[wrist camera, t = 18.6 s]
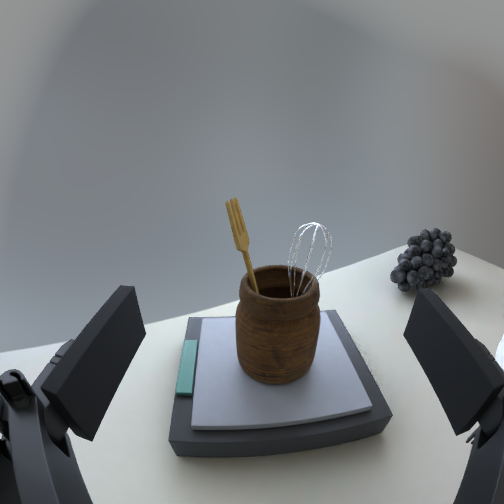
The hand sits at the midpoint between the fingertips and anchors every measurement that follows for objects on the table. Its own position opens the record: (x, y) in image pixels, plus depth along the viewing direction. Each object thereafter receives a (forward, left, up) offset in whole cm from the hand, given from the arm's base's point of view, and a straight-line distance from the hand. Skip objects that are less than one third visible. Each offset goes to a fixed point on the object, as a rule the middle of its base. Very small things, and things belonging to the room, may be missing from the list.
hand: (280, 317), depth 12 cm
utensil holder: (+1, +6, -9) cm, 10 cm away
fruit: (+26, +21, -12) cm, 35 cm away
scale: (+1, +6, -11) cm, 13 cm away
